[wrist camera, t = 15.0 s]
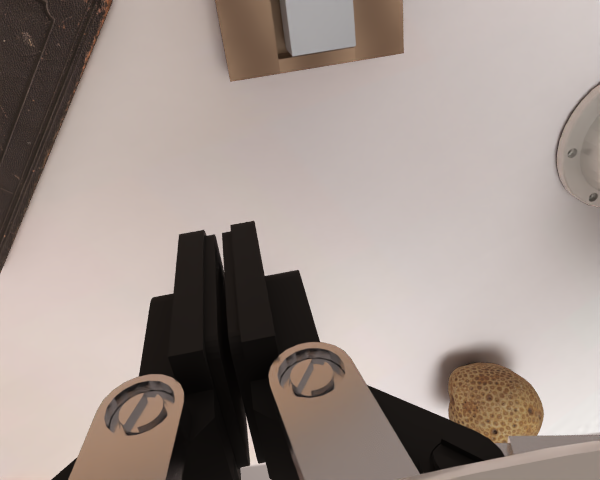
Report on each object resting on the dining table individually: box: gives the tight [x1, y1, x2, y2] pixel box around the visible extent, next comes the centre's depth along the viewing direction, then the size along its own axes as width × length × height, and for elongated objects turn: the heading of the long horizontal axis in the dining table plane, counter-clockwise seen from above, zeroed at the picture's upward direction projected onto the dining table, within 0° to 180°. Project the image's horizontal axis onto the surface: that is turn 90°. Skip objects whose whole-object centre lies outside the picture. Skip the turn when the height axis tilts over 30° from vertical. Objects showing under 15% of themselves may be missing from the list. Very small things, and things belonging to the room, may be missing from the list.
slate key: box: [280, 0, 356, 56], centre depth 32 cm, size 4×4×3 cm
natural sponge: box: [448, 363, 544, 443], centre depth 53 cm, size 9×9×10 cm
